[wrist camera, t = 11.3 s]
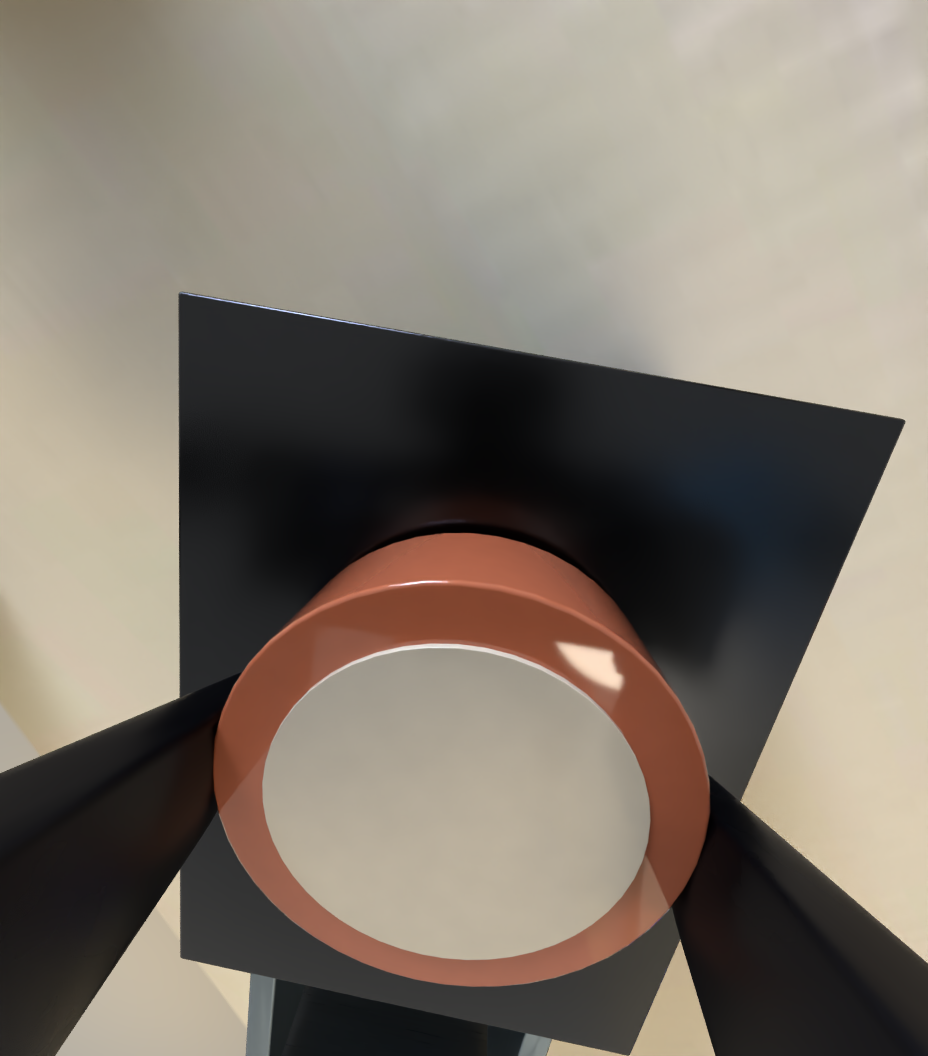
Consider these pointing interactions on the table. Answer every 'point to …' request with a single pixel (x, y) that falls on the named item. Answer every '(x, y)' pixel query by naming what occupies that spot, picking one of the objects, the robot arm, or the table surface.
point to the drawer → (366, 1027)
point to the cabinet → (513, 513)
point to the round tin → (463, 767)
